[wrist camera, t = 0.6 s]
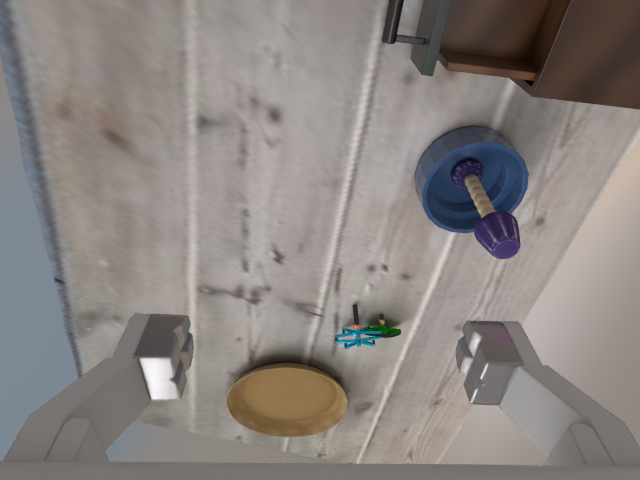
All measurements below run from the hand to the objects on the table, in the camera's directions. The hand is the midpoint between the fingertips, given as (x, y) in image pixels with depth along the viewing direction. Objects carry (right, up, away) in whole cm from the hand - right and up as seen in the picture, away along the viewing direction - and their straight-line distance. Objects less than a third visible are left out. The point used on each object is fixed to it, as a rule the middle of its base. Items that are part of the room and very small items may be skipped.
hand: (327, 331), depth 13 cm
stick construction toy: (+8, -11, +64) cm, 65 cm away
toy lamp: (+19, +12, +46) cm, 52 cm away
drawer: (+15, +27, +34) cm, 46 cm away
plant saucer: (-7, -28, +76) cm, 81 cm away
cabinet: (+30, +27, +36) cm, 53 cm away
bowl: (+19, +12, +47) cm, 52 cm away
